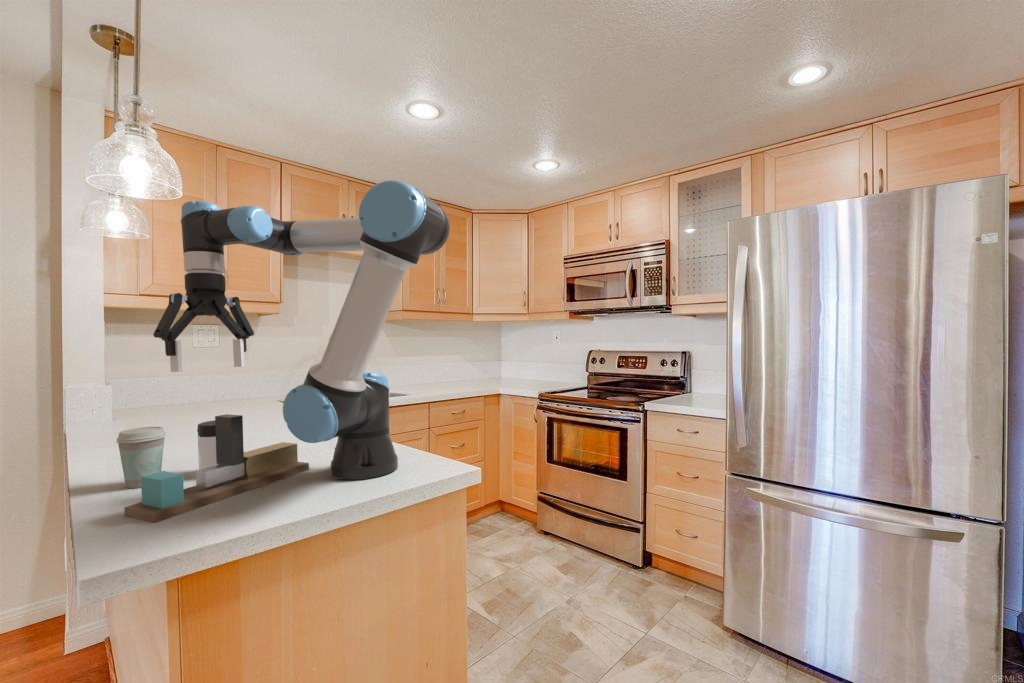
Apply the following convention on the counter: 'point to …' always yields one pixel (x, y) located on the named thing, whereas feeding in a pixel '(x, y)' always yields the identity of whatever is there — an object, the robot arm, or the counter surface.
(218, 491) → the walnut board
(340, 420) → the robot arm
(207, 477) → the steel bar
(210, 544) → the counter surface
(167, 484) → the teal socket
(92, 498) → the counter surface
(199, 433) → the jar
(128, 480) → the coffee cup
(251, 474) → the brass sleeve
